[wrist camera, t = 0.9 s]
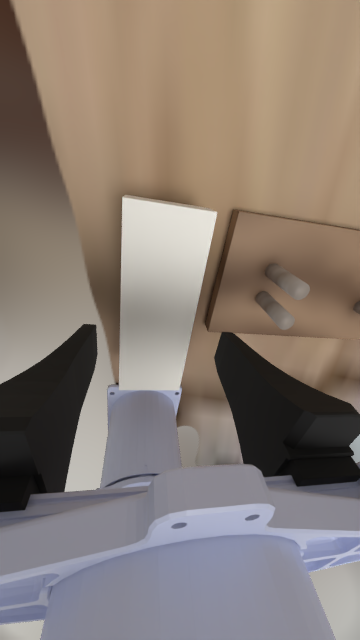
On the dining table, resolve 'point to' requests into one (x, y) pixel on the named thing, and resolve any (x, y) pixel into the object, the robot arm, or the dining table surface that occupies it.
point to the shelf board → (159, 288)
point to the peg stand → (287, 279)
